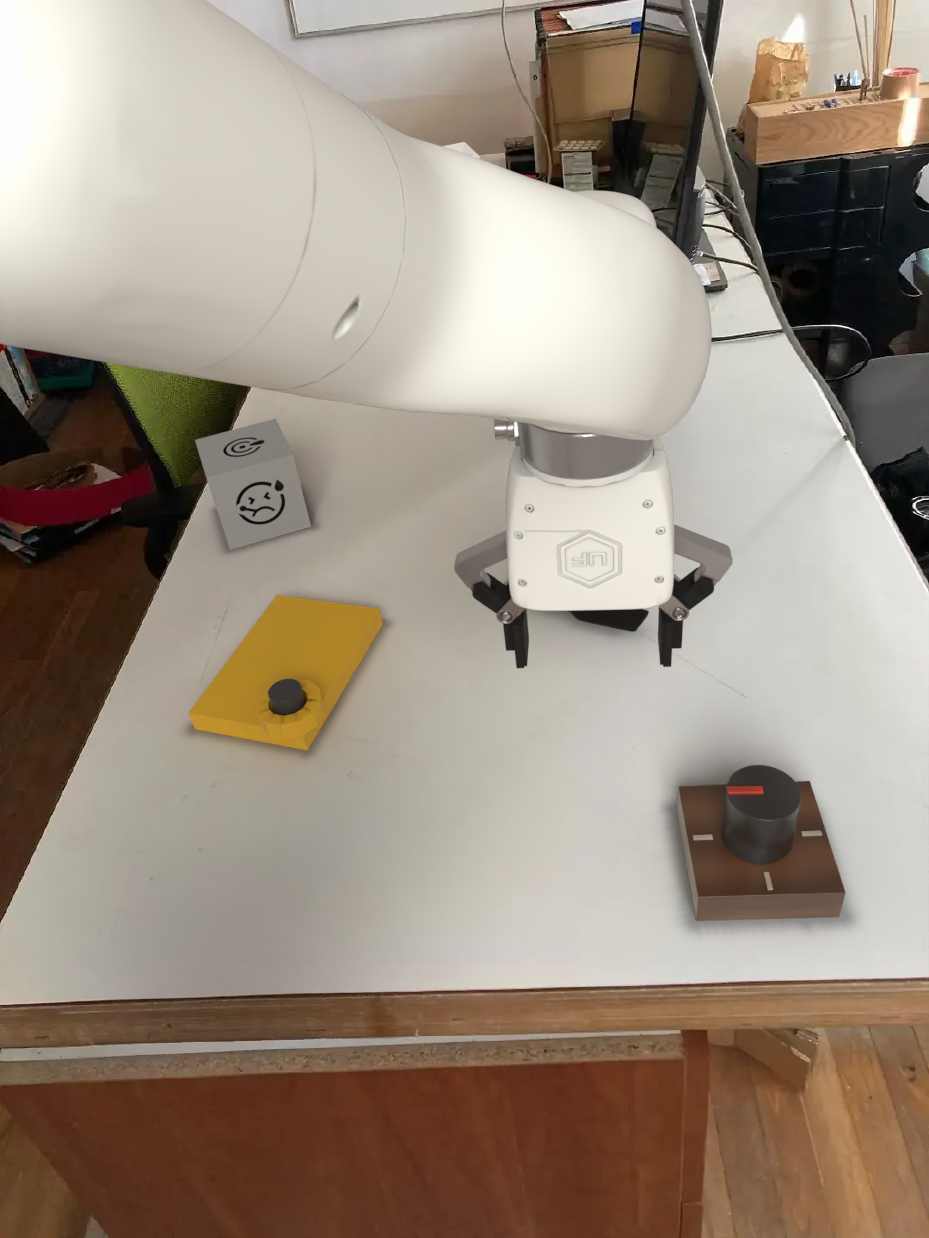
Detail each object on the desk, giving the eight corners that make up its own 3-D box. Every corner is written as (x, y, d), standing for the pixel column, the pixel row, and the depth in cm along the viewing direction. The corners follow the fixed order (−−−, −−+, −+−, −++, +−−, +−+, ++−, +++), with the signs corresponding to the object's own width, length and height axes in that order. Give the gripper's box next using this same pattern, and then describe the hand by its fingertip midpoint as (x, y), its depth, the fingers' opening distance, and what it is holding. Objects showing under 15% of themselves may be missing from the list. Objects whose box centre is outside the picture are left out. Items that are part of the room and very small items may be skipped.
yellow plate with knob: (312, 760, 83) (302, 729, 80) (189, 736, 87) (176, 706, 84) (391, 625, 96) (385, 595, 94) (281, 610, 100) (273, 581, 98)
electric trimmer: (637, 648, 90) (637, 623, 88) (504, 599, 98) (502, 575, 96) (654, 626, 92) (656, 601, 90) (523, 580, 100) (522, 556, 98)
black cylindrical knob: (296, 718, 82) (291, 704, 81) (266, 713, 83) (261, 699, 82) (311, 695, 84) (306, 681, 83) (282, 690, 85) (277, 676, 84)
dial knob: (785, 808, 70) (793, 761, 66) (798, 864, 66) (808, 817, 63) (717, 808, 70) (722, 761, 67) (726, 864, 67) (731, 817, 63)
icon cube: (294, 488, 120) (275, 418, 114) (311, 526, 113) (292, 454, 106) (217, 509, 118) (194, 440, 112) (230, 550, 111) (206, 477, 104)
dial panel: (839, 917, 66) (846, 891, 64) (695, 921, 67) (698, 895, 65) (805, 805, 73) (810, 779, 71) (676, 810, 74) (678, 784, 72)
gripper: (428, 472, 51) (462, 693, 62) (752, 458, 49) (729, 691, 60) (444, 408, 57) (473, 620, 68) (735, 392, 54) (716, 616, 65)
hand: (592, 653), depth 64 cm, fingers open, 9 cm apart
